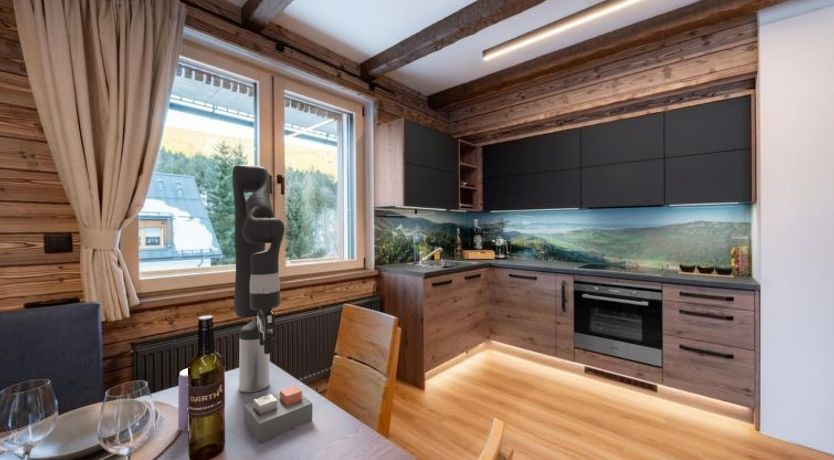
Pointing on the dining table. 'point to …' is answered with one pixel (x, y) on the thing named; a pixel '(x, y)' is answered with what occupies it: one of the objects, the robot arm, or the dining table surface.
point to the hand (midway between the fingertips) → (266, 348)
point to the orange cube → (290, 395)
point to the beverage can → (183, 401)
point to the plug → (265, 404)
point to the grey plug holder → (277, 419)
